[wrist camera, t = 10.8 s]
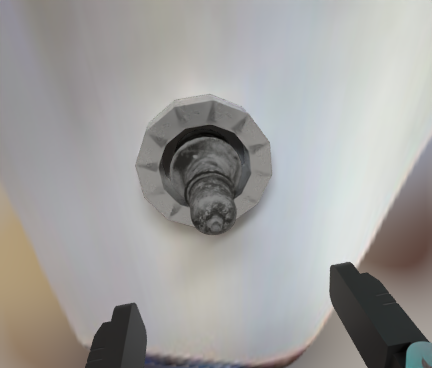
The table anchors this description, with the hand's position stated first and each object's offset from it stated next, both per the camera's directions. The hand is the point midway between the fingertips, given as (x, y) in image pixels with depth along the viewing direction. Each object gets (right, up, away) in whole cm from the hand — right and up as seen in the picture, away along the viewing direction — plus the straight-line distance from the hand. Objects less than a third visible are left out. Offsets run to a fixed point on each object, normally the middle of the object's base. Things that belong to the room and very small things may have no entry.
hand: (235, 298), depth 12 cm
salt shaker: (-2, +7, +16) cm, 17 cm away
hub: (-2, +7, +15) cm, 17 cm away
